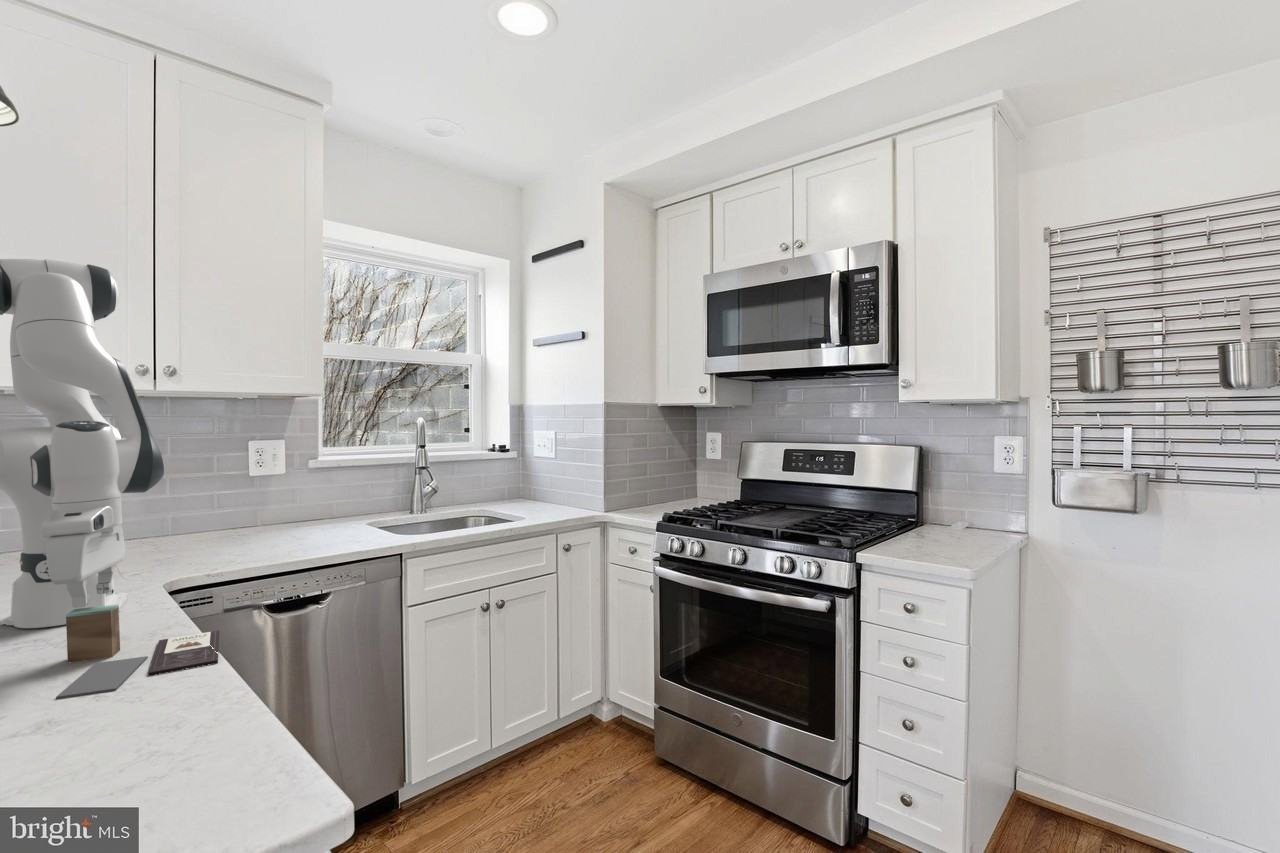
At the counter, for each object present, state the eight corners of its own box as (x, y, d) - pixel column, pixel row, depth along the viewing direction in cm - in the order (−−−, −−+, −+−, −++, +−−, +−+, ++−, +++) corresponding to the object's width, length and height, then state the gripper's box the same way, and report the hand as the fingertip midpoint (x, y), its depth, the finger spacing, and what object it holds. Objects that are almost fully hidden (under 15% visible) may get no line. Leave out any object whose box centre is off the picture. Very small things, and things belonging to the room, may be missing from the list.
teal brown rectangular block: (76, 655, 110) (75, 608, 110) (120, 650, 113) (118, 604, 112) (67, 663, 107) (65, 614, 107) (112, 657, 109) (110, 609, 109)
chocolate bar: (148, 672, 101) (159, 640, 116) (148, 678, 101) (159, 645, 116) (217, 660, 106) (219, 630, 121) (217, 665, 106) (219, 635, 121)
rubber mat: (95, 664, 106) (95, 662, 106) (147, 657, 108) (147, 656, 108) (56, 698, 93) (56, 696, 93) (116, 690, 95) (116, 688, 95)
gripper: (91, 512, 118) (95, 588, 118) (34, 527, 99) (40, 618, 99) (133, 509, 120) (137, 583, 120) (86, 522, 101) (91, 611, 101)
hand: (93, 599), depth 109 cm, fingers open, 8 cm apart
